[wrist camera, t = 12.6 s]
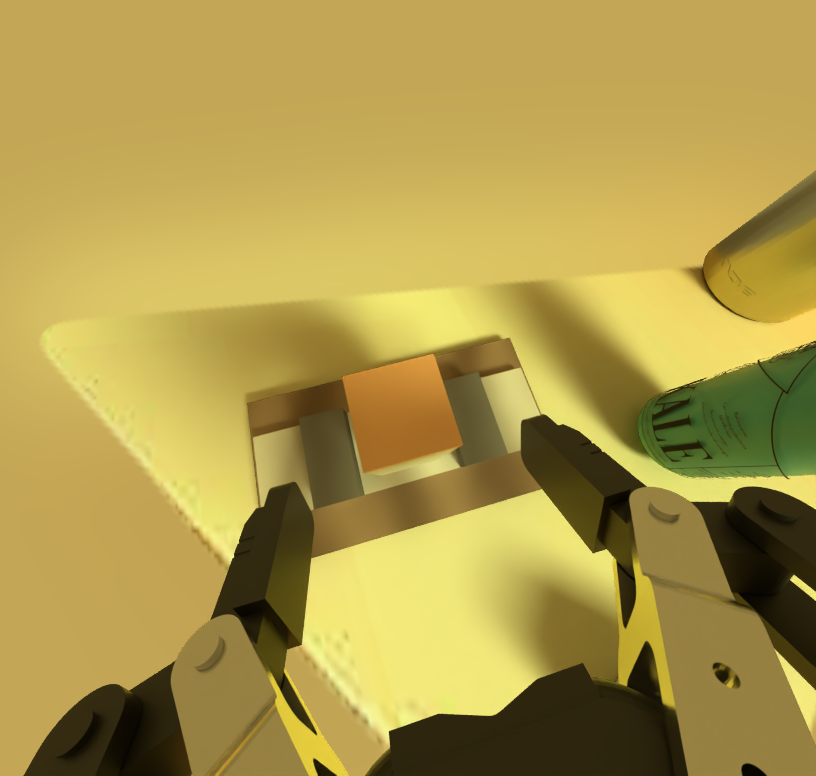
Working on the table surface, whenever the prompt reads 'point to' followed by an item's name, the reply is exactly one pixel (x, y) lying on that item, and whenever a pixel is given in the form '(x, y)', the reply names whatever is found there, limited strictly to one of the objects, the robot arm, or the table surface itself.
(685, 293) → the table surface
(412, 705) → the table surface
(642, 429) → the beverage bottle
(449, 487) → the rail board
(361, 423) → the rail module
